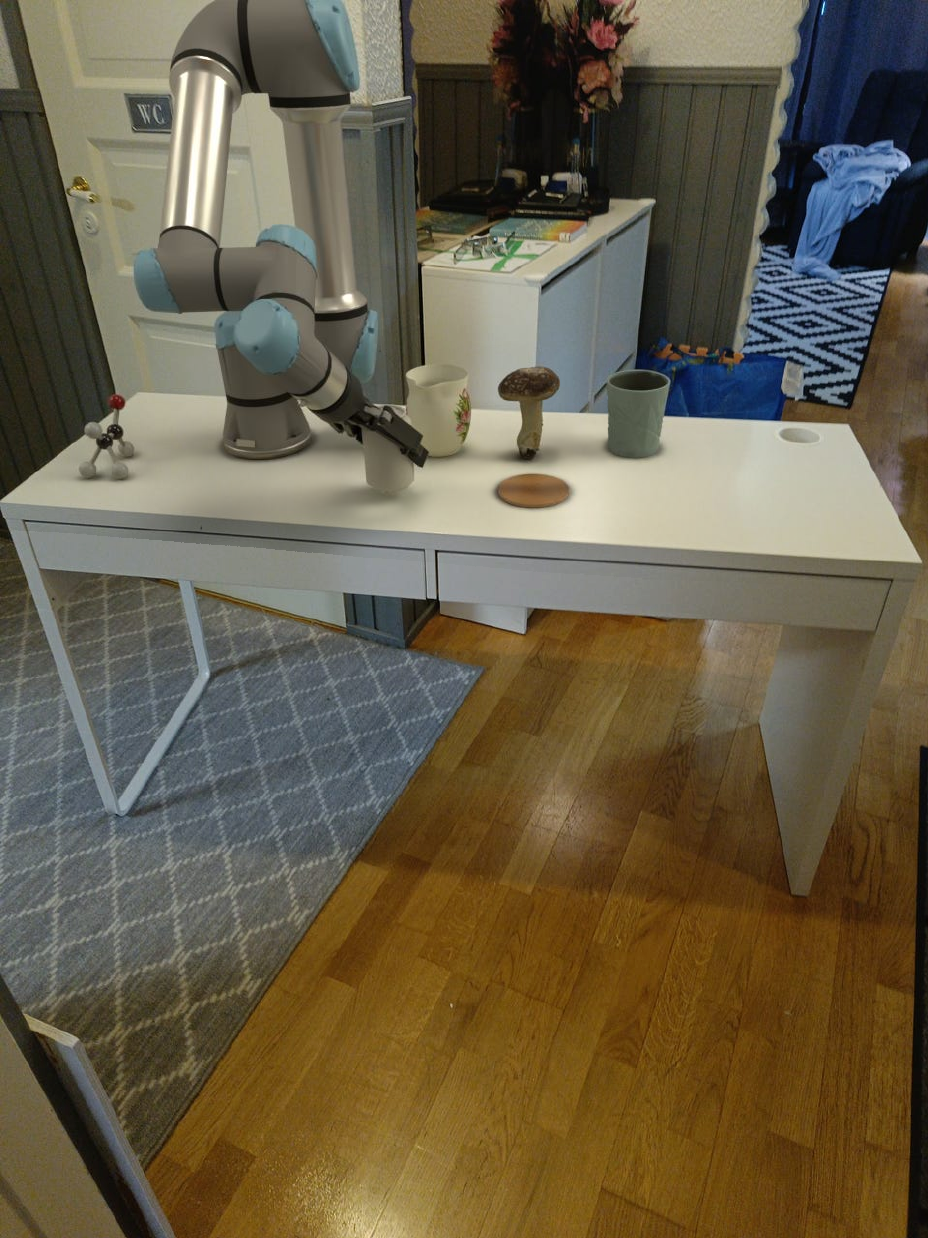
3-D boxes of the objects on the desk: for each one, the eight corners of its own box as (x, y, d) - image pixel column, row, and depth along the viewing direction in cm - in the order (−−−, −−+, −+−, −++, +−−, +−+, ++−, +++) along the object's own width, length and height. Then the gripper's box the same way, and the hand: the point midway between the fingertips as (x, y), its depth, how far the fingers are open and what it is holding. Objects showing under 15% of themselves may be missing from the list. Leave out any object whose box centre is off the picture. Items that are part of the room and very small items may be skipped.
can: (356, 485, 137) (349, 411, 130) (393, 469, 141) (387, 397, 134) (388, 500, 132) (382, 424, 126) (424, 483, 137) (421, 410, 130)
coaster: (492, 479, 141) (492, 476, 141) (559, 473, 143) (559, 470, 142) (505, 510, 132) (505, 507, 132) (576, 504, 134) (576, 501, 133)
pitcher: (484, 429, 158) (483, 353, 151) (458, 471, 144) (456, 389, 136) (426, 424, 161) (422, 349, 153) (395, 465, 147) (389, 384, 139)
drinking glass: (670, 442, 152) (677, 374, 145) (651, 464, 145) (659, 393, 138) (614, 432, 156) (619, 365, 149) (593, 454, 149) (598, 384, 142)
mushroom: (566, 453, 149) (570, 366, 140) (540, 472, 143) (543, 382, 135) (518, 441, 153) (519, 356, 145) (491, 459, 148) (491, 371, 139)
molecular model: (78, 480, 145) (60, 418, 139) (110, 450, 154) (94, 391, 148) (126, 481, 144) (109, 419, 138) (155, 451, 154) (141, 392, 148)
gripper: (256, 398, 121) (341, 462, 141) (376, 426, 112) (448, 490, 132) (277, 348, 121) (358, 419, 142) (397, 372, 112) (466, 444, 133)
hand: (402, 453), depth 137 cm, fingers closed on can, 7 cm apart
